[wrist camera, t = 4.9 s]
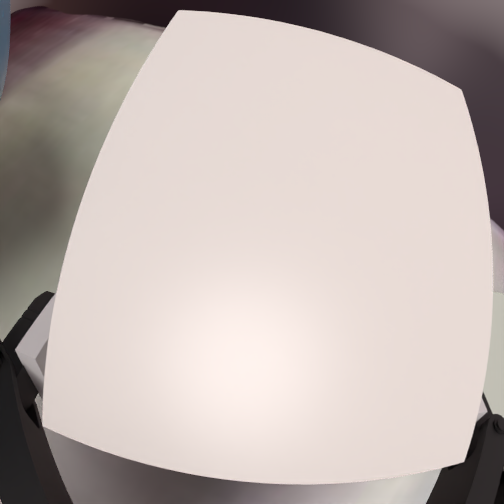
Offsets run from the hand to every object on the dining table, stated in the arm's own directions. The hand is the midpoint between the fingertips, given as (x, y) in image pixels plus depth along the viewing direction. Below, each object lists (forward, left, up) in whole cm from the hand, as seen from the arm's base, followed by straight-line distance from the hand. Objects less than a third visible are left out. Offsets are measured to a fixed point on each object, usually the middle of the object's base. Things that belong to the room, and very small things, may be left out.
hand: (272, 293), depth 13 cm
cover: (0, +1, -5) cm, 5 cm away
